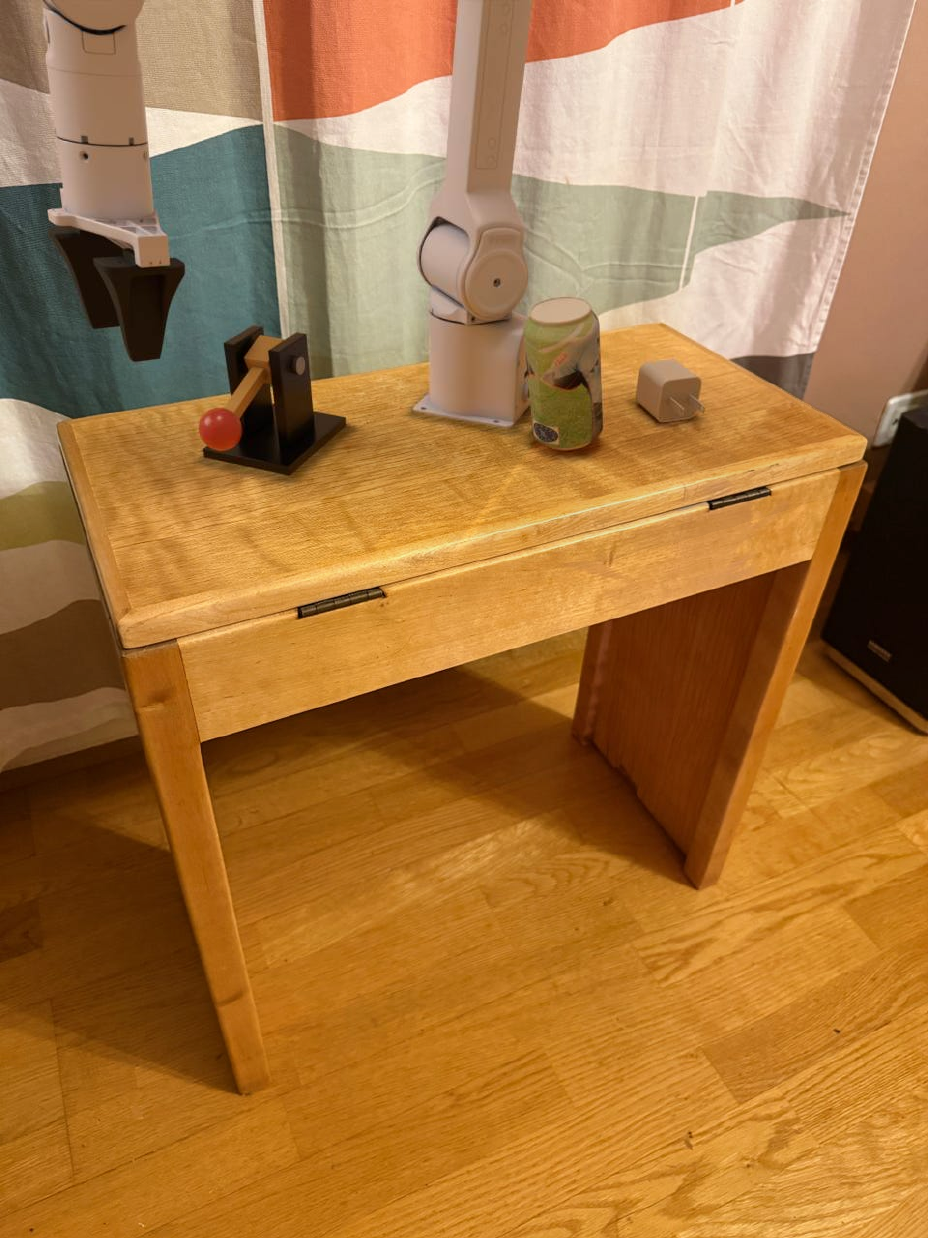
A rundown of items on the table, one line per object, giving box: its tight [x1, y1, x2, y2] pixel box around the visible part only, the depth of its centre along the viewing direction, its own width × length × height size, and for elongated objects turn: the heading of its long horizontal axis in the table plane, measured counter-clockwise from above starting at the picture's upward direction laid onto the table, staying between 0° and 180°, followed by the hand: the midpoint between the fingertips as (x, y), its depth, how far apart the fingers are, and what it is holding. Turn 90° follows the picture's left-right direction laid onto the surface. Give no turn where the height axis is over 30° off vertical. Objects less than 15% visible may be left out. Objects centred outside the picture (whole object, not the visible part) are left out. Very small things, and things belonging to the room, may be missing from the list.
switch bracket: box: [202, 325, 347, 476], centre depth 75 cm, size 10×8×9 cm
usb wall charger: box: [635, 358, 706, 423], centre depth 82 cm, size 4×7×4 cm, turn 18°
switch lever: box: [198, 335, 285, 451], centre depth 71 cm, size 11×3×3 cm, turn 159°
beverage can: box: [524, 296, 604, 451], centre depth 76 cm, size 6×7×12 cm
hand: (124, 342), depth 68 cm, fingers open, 7 cm apart
